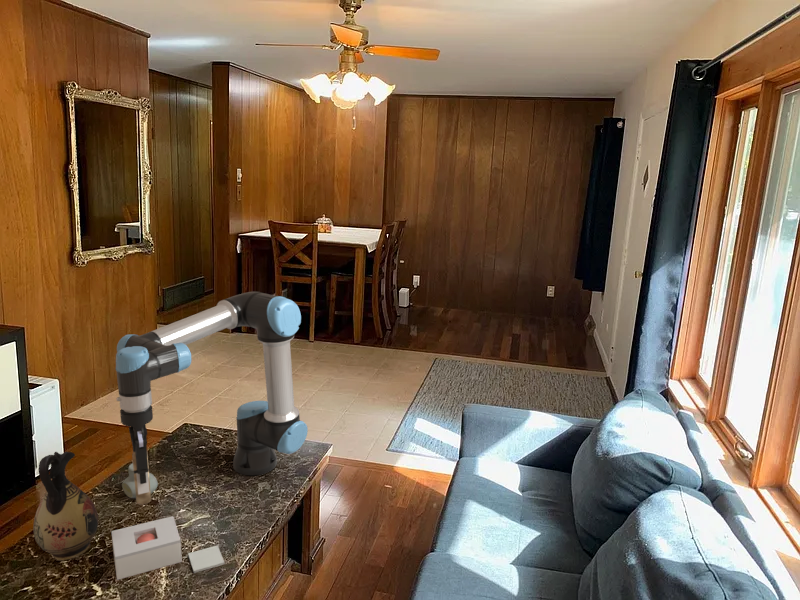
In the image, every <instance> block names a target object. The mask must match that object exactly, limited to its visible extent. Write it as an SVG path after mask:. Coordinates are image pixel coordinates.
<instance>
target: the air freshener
mask: <svg viewBox="0 0 800 600" xmlns="http://www.w3.org/2000/svg"><path fill="white" fill-rule="evenodd" d="M148 468H149V466H148ZM149 469H150V468H149ZM127 470H128V476H127V477H126V478H125V479H124V480H122V481H123V482H122V484H121V487H122V490H123V492H124V494H125V495H126V496H127V497H128V498H129V499H130V498H131V499H136V491H135V480H134V469H133V462H132V463H131V464H129V466H128V468H127ZM149 480H150V492H151V494H153V493H154V492H155V491H156V490H157V487H158V486H159V485H158V484H159V483H158V479H157V478H156V477H155V475H154V474H153V473H151V472H149Z"/></svg>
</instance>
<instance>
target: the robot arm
mask: <svg viewBox="0 0 800 600" xmlns="http://www.w3.org/2000/svg"><path fill="white" fill-rule="evenodd" d="M301 323H302V315H301V311H300V308H299V306H298V304H297V303H296V302H295V301H293V300H292V299H289V298H286V297H285V296H281V295H280V296H279V295H274V294H273V295H272V294H268V293H264V292H260V291H248V292H242V293H241V294H240V293H239V294H236V295H233V296H230V297H228V298H225V299H222V300H219V301H218V302H217V304H216V306H213V307H210V308H207V309H205V310H202V311H199V312H198V313H196V314H193V315H190V316H188V317H185V318H181V319H180V320H177V321H174V322H172V323H170V324H167V325H164V326H161V327H158V328H156V329H154V330H151V331H149V332H146V333H143V334H141V335H138V334H134V333H133V334H125V335H124V336H122V337H121V338H120V339H119V340H118V343H117V345H116V353H115V371H116V380H117V389H118V390H117V391H118V397H116V401H117V402H119V408H120V411H119V414H120V423H121V424H122V425H123V426H124V427H128V430H129V436H130V441H131V445H132V453H133V452H135V455H136V466H137V470H135V471H134V474H136V475H137V487H138V495H139V494H143V493H147V492H149V480H148V472H149V473H150V468H149V469H148V467H149V459H148V460H147V456H148V449H147V445H148V438H147V436H148V429H147V424H148V423H150V422H152V420H153V418H154V417H153V412H154V411H153V406H152V404H153V398H152V387H151V386H152V385H151V383H152V381H156V380H157V379H161V378H163V377H167V376H170V375H174V374H176V373H177V374H179V373H180V372H181V371H182V372H183V371H184V370H187V369H188V368H189V367H190V366H191V365H192V353H191V351H190V347H188V345H190V344H191V343H194V342H197V341H199V340H201V339H203V338H207V337H208V336H211V335H213V334H215V333H217V332H218V333H219V332H220V331H223V330H225V329H228V330H233V329H235V328H238V327H250V328H252V329H256V336H257V341H258V342H259V343H261V344H262V351H263V362H264V373H265V375H264V377H265V387H266V399H267V400H253V401H248V402H246V403H243V404H241V405H240V406H238V408H237V410H236V417H235V419H236V430H237V431H236V432H237V433H236V435H237V438H236V439H237V447H236V449H235V454H234V457H233V459H232V460H233V461H232V466H233V471H235V472H237V473H239V474H241V475H243V476H261V475H263V474H267V473H270V472H271V471H273V470H274V469H275V468H276V466H277V464H278V458H277V454H276V451H277V452H278V453H283V454H285V455H291V454H294V453H296V452H298V450H300V448H301V447H303V444H304V442H306V440H307V436H308V431H309V430H308V426H307V423H305V421H304V420H301V419H300V410H299V408H298V407H296V406H295V400H294V398H295V397H294V383H293V381H294V380H293V369H292V368H293V366H292V352H291V351H292V350H291V341H292V340H293V339H294V338H295V335H296V333H297V332H298V331H299V329H300V327H299V326H300V325H301Z"/></svg>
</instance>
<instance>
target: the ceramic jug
mask: <svg viewBox="0 0 800 600" xmlns="http://www.w3.org/2000/svg"><path fill="white" fill-rule="evenodd" d="M75 456H76V454H75V453H74V452H71V451H64V452H63V453H59V452H58V451H54V453H53V454H48V455H45V456H44V457H42V458H41V459H40V461H39V462H38V476H39V479H40V481H41V483H42V485H43V486H44V488H45V491H46V493H45V494H44V495H43V497H42V499H41V501H40V503H39V505H38V507H37V509H36V512H35V514H34V515H35V516H34V519H33V535H34V540H35V542H36V544H37V545H38V547H40V548H41V550H42V551H45V552H46V553H48V554H50V555H51V556H52V557H53V558H54V559H55V560H57V561H59V562H62V561H65V560H70V559H74V558H76V557H78V556H82V555H83V554H85V553H86V551H88V549H89V548H90V547H91V545H92V544H91V541H92V540H93V539H94V537H95V535H96V532H97V531H98V527H99V516H98V511H97V508H96V506H95V504H94V501H93V500H91V498H90V496H88V495H87V493H85V492H84V491H83V490H82V489H81V488H80V487H79V486H78V485H76V484H75V483H73V482H72V481H70V479H68V477H67V476H66V467H67V465H68V463H69V462H70V460H72V459H73V458H74V457H75Z"/></svg>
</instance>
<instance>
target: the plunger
mask: <svg viewBox="0 0 800 600" xmlns="http://www.w3.org/2000/svg"><path fill="white" fill-rule="evenodd" d="M154 539H155V536H154V535H153V534H150V533H147V534H143V535H141V536H139V537H138V539H137V544H138V543H142V542H146V541H150V540H154Z"/></svg>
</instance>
